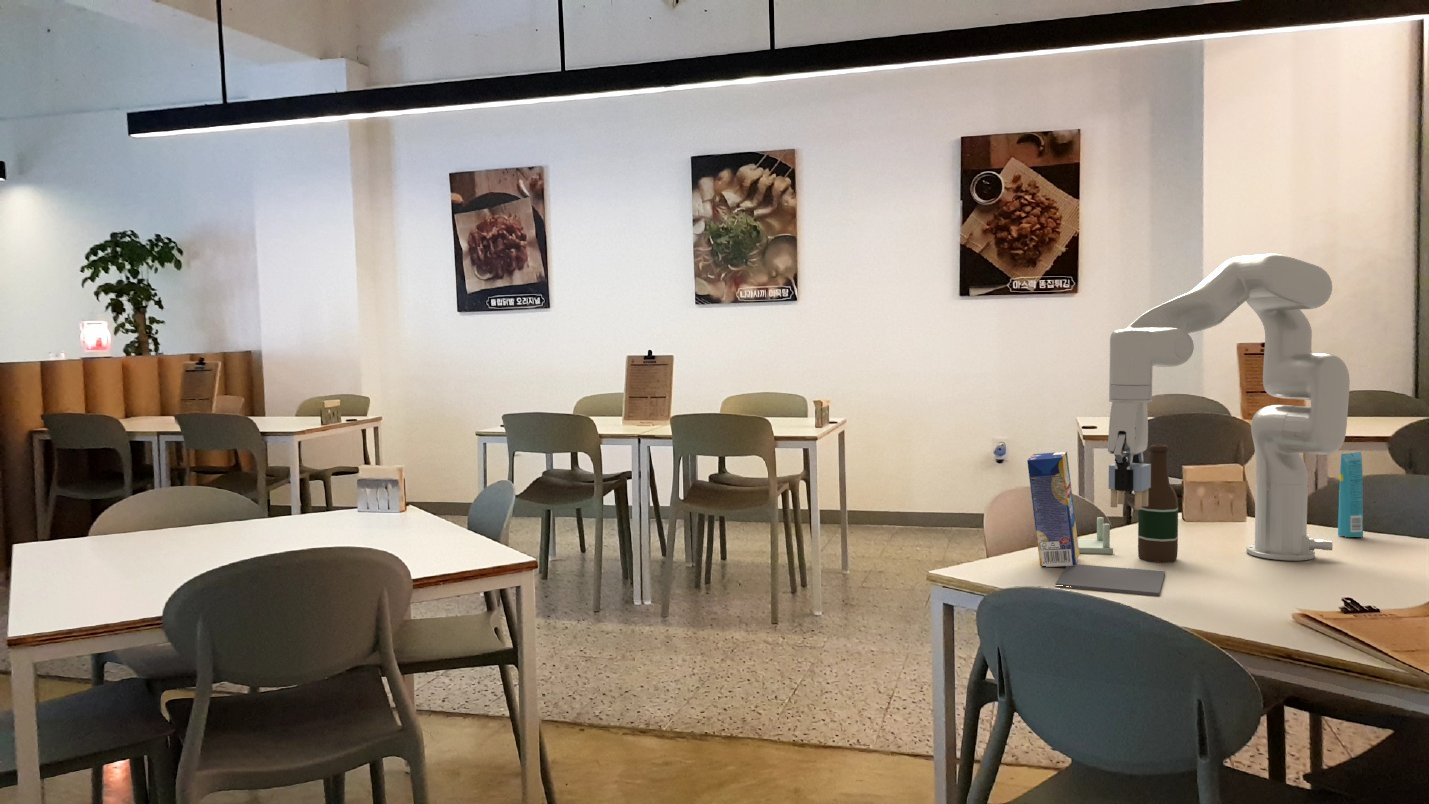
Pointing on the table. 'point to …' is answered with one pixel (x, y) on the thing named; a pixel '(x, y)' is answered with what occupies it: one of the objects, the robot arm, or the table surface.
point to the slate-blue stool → (1139, 485)
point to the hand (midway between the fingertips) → (1129, 487)
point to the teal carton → (1351, 496)
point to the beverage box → (1053, 509)
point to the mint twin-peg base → (1097, 540)
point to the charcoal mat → (1112, 579)
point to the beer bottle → (1159, 513)
